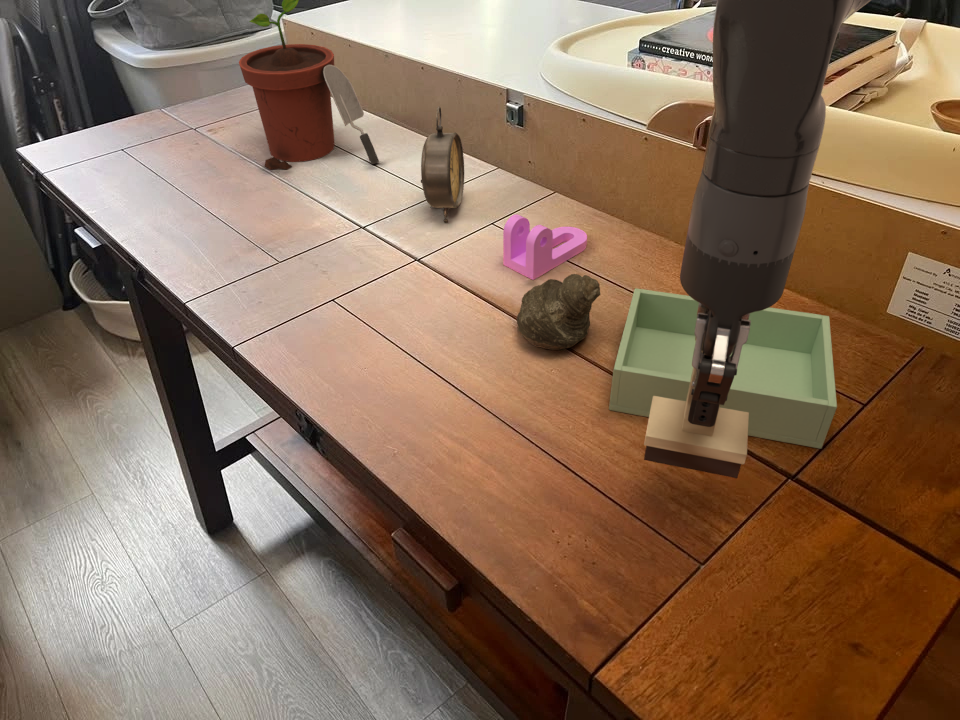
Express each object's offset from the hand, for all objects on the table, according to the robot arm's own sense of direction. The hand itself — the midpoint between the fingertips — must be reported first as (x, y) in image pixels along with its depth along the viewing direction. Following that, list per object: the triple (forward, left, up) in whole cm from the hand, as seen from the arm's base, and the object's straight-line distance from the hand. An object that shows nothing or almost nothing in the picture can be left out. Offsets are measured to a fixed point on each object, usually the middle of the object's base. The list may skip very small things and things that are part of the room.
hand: (702, 409), depth 65 cm
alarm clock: (+41, -49, -12) cm, 65 cm away
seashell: (+19, -23, -12) cm, 32 cm away
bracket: (+22, -40, -12) cm, 47 cm away
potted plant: (+71, -63, -12) cm, 96 cm away
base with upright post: (0, 0, -5) cm, 5 cm away
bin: (-2, -18, -11) cm, 21 cm away
